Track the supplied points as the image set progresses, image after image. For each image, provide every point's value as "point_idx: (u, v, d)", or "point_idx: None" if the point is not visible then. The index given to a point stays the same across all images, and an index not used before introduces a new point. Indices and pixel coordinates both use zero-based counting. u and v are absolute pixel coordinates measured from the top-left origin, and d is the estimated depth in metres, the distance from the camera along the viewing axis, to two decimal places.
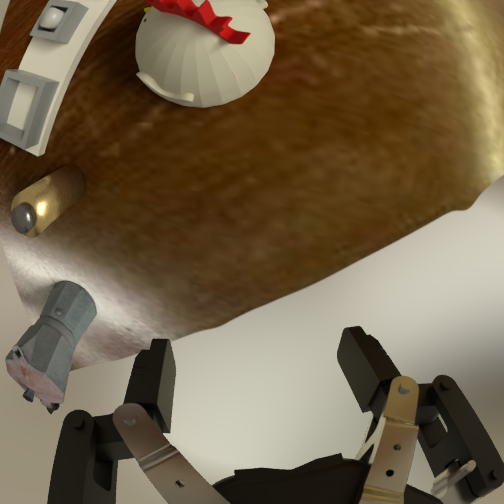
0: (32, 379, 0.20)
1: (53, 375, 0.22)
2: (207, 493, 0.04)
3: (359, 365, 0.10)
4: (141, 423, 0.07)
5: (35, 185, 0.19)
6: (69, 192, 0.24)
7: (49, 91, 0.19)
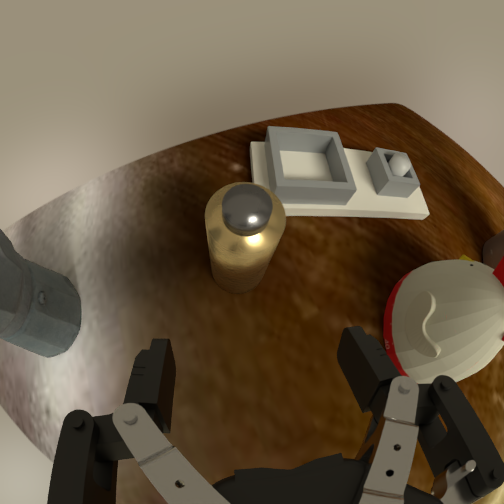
0: None
1: None
2: (207, 493, 0.04)
3: (359, 365, 0.10)
4: (141, 423, 0.07)
5: None
6: (256, 276, 0.21)
7: (341, 197, 0.26)
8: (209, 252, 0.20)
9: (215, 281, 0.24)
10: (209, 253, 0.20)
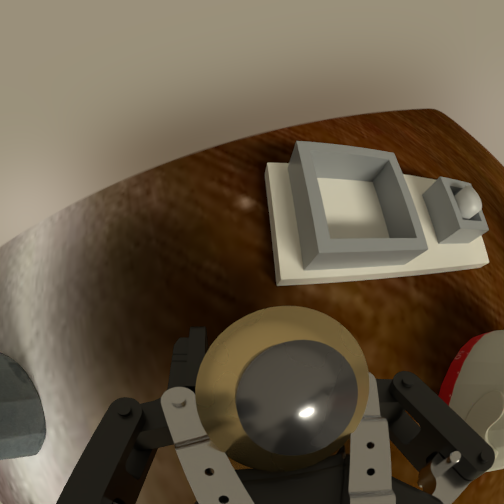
0: None
1: None
2: (207, 493, 0.04)
3: None
4: (191, 405, 0.07)
5: None
6: None
7: (404, 258, 0.16)
8: None
9: None
10: None
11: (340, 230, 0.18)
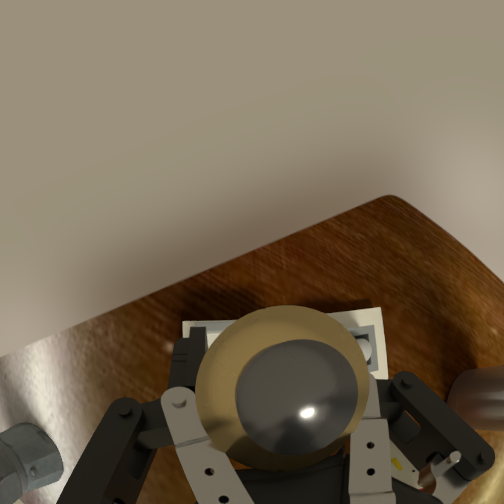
0: None
1: None
2: (207, 493, 0.04)
3: None
4: (191, 405, 0.07)
5: None
6: None
7: None
8: None
9: None
10: None
11: None
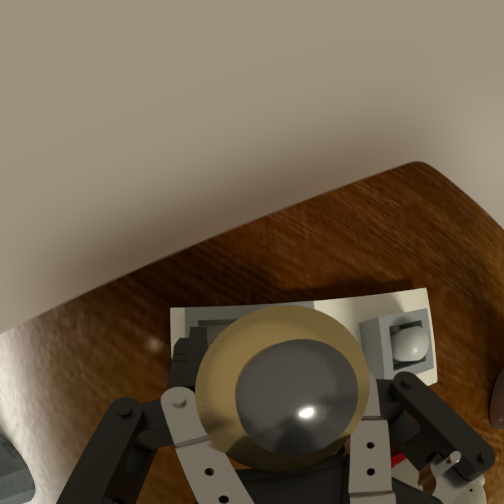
0: None
1: None
2: (207, 493, 0.04)
3: None
4: (192, 405, 0.07)
5: None
6: None
7: None
8: None
9: None
10: None
11: None
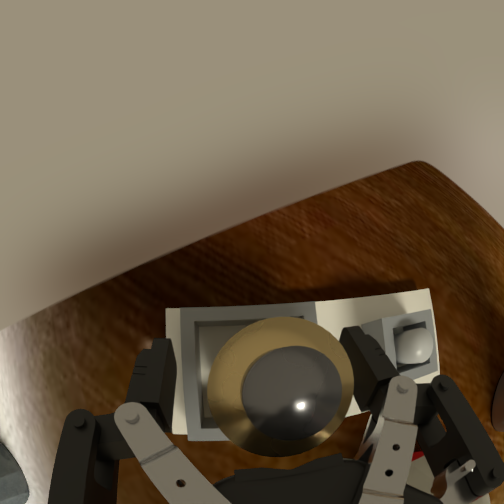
0: None
1: None
2: (207, 493, 0.04)
3: (357, 365, 0.10)
4: (143, 422, 0.07)
5: None
6: None
7: None
8: None
9: None
10: None
11: None
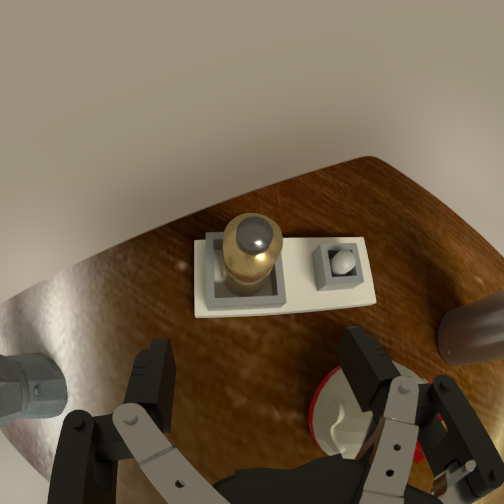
0: None
1: None
2: (207, 493, 0.04)
3: (359, 365, 0.10)
4: (141, 423, 0.07)
5: None
6: (260, 283, 0.26)
7: (272, 306, 0.28)
8: (223, 265, 0.25)
9: (226, 286, 0.30)
10: (223, 265, 0.26)
11: None
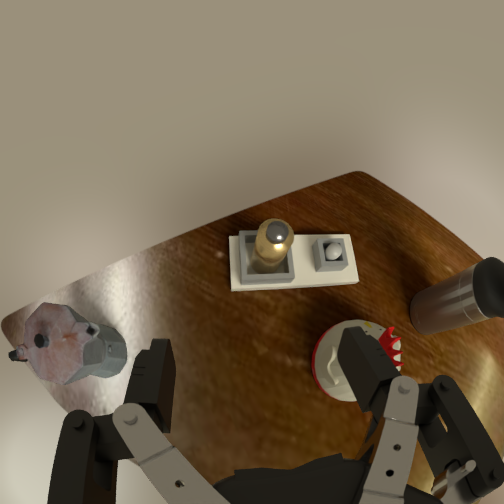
0: (64, 347, 0.22)
1: (79, 372, 0.22)
2: (207, 493, 0.04)
3: (359, 365, 0.10)
4: (141, 423, 0.07)
5: None
6: (278, 264, 0.40)
7: (285, 280, 0.42)
8: (254, 251, 0.39)
9: None
10: (254, 252, 0.39)
11: None
